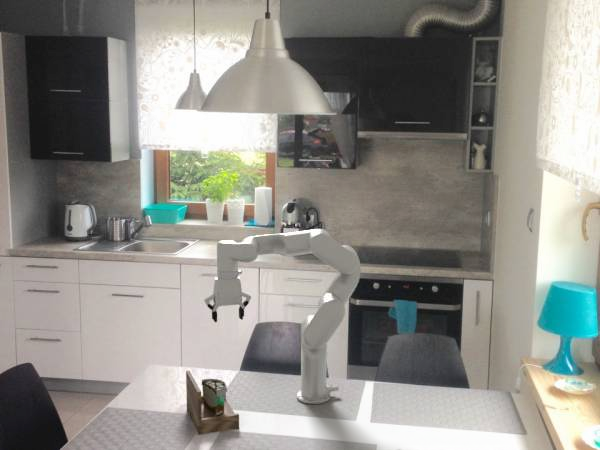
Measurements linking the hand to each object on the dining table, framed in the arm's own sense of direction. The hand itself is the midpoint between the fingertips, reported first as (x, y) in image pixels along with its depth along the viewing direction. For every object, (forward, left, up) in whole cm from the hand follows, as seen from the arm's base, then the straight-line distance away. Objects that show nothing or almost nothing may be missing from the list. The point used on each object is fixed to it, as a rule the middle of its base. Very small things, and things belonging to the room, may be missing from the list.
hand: (228, 319), depth 262 cm
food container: (+8, +16, -28) cm, 33 cm away
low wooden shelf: (+10, +16, -30) cm, 36 cm away
